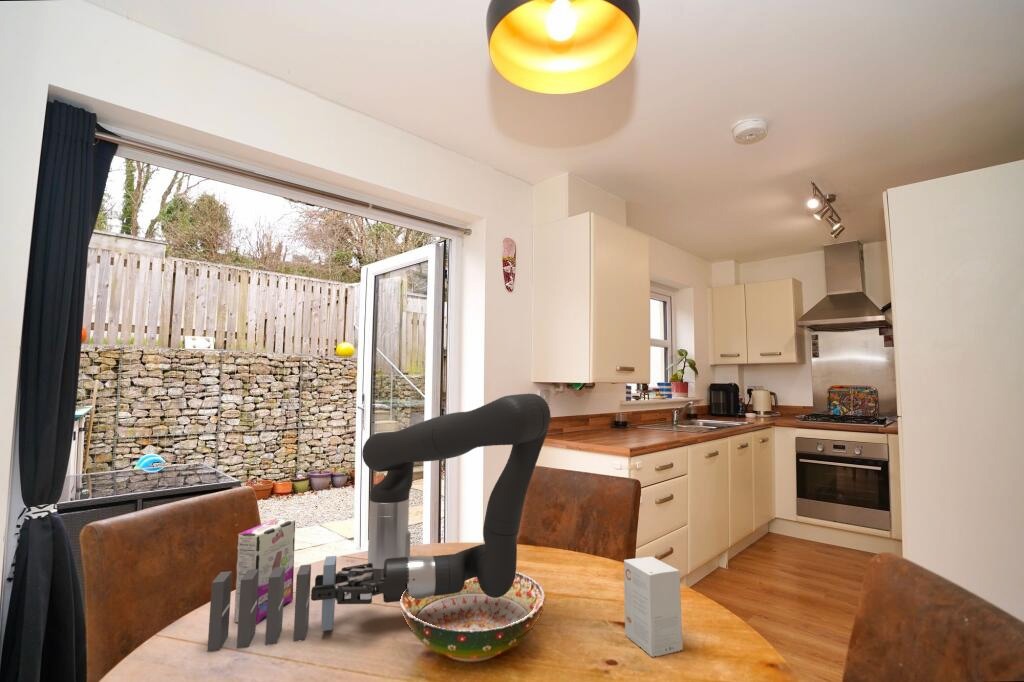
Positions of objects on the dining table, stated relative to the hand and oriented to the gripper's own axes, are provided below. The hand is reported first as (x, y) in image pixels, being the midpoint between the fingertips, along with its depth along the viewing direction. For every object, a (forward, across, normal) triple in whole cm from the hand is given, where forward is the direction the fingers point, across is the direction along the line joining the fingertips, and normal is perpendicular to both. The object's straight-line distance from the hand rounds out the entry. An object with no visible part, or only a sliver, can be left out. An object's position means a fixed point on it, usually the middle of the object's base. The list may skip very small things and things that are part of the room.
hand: (313, 587), depth 88 cm
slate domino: (-3, 0, +6) cm, 7 cm away
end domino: (+15, 0, +8) cm, 17 cm away
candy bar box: (+10, -12, +8) cm, 17 cm away
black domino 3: (+2, 0, +8) cm, 8 cm away
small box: (-57, +19, +8) cm, 61 cm away
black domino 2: (+6, 0, +8) cm, 10 cm away
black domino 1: (+11, 0, +8) cm, 13 cm away
